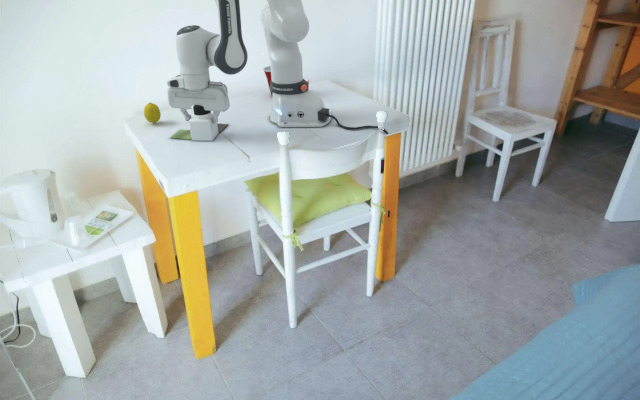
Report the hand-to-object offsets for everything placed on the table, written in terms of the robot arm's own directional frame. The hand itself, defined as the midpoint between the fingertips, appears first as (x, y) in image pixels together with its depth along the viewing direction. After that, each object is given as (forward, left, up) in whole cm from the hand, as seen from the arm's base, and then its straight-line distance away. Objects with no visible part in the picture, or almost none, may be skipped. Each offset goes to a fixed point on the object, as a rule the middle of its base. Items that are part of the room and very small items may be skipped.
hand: (201, 121), depth 154 cm
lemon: (+23, -8, -6) cm, 25 cm away
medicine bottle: (0, 0, -6) cm, 6 cm away
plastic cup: (-12, -46, -6) cm, 48 cm away
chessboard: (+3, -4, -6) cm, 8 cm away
